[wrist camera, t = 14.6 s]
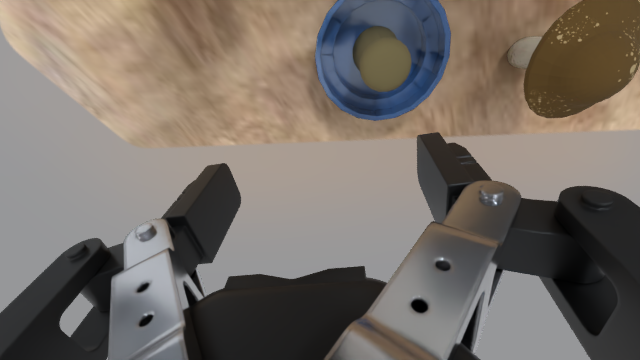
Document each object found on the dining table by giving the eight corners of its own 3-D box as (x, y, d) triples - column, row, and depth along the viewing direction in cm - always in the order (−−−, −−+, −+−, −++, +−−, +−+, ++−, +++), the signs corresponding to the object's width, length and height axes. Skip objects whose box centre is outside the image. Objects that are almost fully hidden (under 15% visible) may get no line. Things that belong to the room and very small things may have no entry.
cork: (391, 79, 38) (407, 104, 29) (348, 72, 38) (350, 94, 29) (405, 30, 35) (428, 40, 26) (358, 21, 35) (364, 28, 26)
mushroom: (583, -2, 33) (737, -5, 20) (533, 95, 39) (626, 140, 26) (505, -12, 33) (609, -21, 20) (467, 87, 39) (528, 128, 26)
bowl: (308, -5, 34) (303, -6, 30) (438, -34, 32) (455, -40, 27) (328, 114, 42) (327, 128, 37) (434, 97, 40) (446, 110, 35)
